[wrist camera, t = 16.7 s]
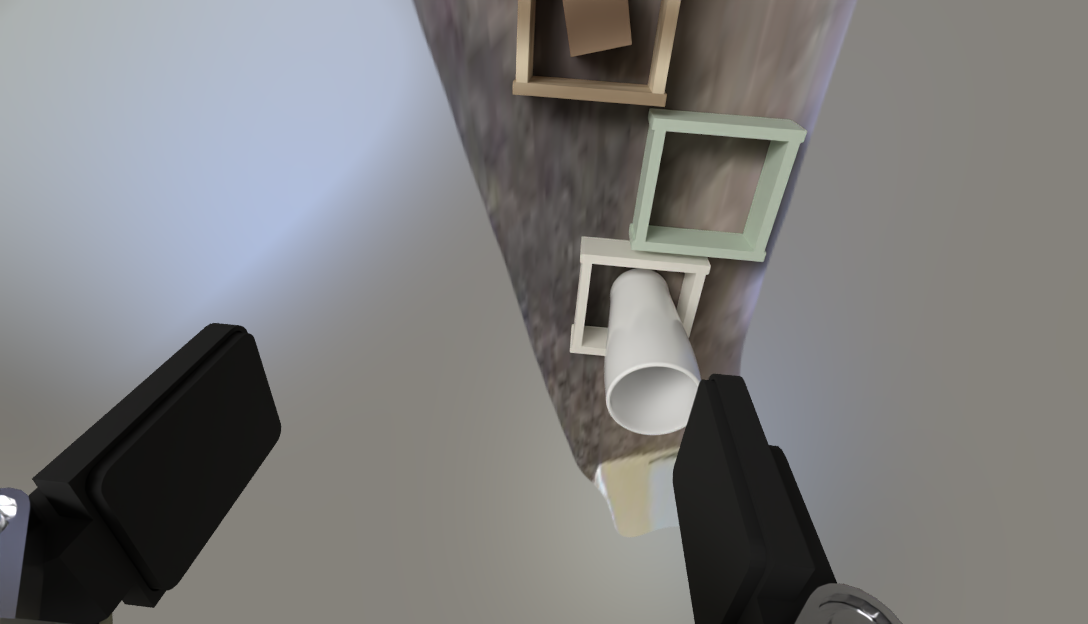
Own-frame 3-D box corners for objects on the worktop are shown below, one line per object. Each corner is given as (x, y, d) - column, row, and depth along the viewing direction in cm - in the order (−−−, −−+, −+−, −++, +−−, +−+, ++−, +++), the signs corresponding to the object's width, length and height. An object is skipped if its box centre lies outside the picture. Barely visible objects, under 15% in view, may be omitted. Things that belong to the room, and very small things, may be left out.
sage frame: (649, 108, 38) (653, 118, 35) (790, 119, 38) (807, 130, 35) (628, 232, 44) (631, 249, 41) (751, 243, 44) (763, 261, 41)
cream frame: (581, 236, 44) (580, 253, 42) (703, 247, 44) (710, 266, 41) (571, 330, 50) (569, 352, 47) (678, 341, 50) (684, 363, 47)
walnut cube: (563, -14, 35) (560, -14, 31) (622, -28, 34) (625, -29, 31) (573, 50, 37) (570, 57, 33) (628, 38, 36) (631, 44, 33)
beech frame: (524, -85, 33) (517, -92, 30) (688, -73, 32) (698, -79, 29) (518, 85, 38) (512, 94, 35) (659, 97, 38) (664, 106, 35)
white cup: (676, 317, 48) (705, 434, 36) (605, 323, 49) (609, 439, 37) (675, 254, 45) (706, 358, 32) (598, 262, 46) (600, 366, 33)
